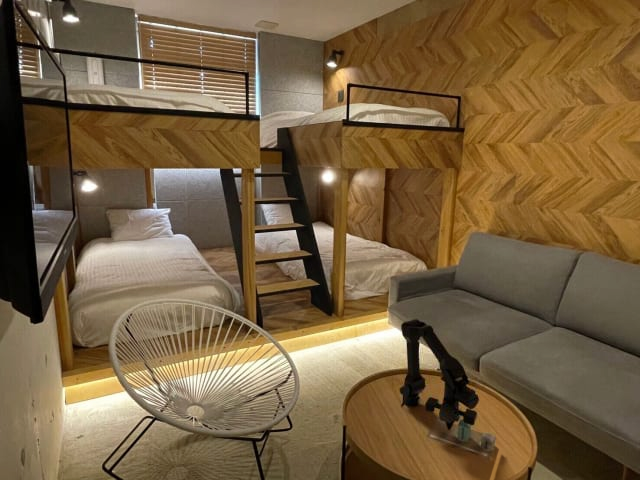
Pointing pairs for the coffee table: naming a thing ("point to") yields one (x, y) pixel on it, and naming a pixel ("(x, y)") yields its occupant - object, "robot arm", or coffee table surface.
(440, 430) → the board
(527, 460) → the coffee table surface
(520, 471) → the coffee table surface
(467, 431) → the sage green box
